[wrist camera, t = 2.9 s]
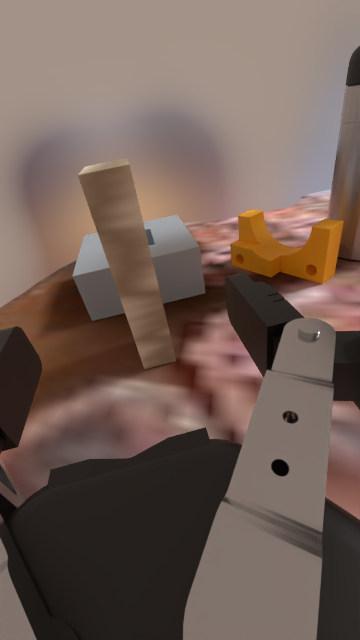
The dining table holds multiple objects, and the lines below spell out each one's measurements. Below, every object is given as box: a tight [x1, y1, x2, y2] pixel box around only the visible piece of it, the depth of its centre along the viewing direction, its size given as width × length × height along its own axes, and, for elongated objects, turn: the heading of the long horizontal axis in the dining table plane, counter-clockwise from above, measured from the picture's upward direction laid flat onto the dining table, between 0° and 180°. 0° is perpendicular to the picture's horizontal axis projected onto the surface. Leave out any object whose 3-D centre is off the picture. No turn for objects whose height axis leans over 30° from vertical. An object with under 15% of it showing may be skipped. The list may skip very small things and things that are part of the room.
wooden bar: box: [78, 158, 176, 369], centre depth 23 cm, size 3×4×16 cm
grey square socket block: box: [73, 215, 205, 321], centre depth 38 cm, size 14×14×6 cm
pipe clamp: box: [230, 210, 344, 284], centre depth 34 cm, size 12×4×6 cm, turn 39°
